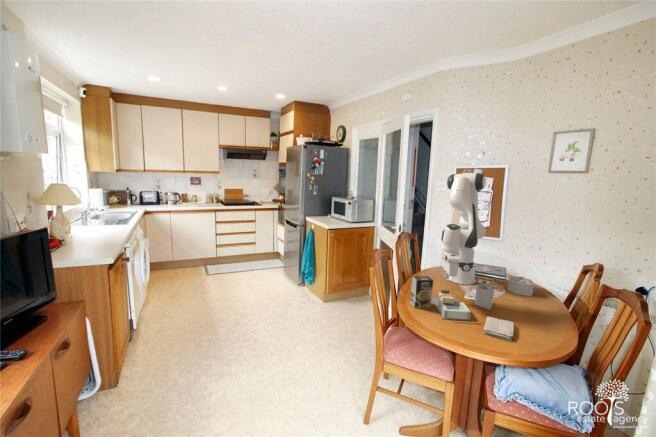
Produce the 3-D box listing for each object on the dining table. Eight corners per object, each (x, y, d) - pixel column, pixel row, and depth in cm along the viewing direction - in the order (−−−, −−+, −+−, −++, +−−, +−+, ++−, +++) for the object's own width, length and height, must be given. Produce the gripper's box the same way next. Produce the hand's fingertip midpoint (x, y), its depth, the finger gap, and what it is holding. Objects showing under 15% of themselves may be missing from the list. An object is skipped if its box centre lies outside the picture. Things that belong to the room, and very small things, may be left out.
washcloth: (482, 335, 141) (483, 329, 141) (485, 319, 156) (486, 313, 156) (512, 343, 135) (513, 337, 135) (513, 326, 150) (513, 320, 150)
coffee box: (414, 309, 163) (417, 280, 160) (409, 304, 169) (412, 275, 166) (430, 309, 164) (433, 280, 161) (425, 303, 170) (428, 275, 168)
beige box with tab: (438, 298, 175) (439, 289, 174) (449, 299, 174) (450, 290, 173) (441, 304, 168) (443, 294, 167) (453, 305, 167) (454, 295, 167)
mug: (490, 311, 164) (492, 291, 163) (472, 306, 169) (475, 287, 167) (493, 303, 174) (496, 284, 172) (477, 299, 179) (479, 281, 177)
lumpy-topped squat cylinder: (532, 297, 185) (534, 283, 184) (507, 292, 191) (509, 278, 190) (531, 291, 194) (533, 278, 193) (507, 286, 200) (509, 273, 199)
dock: (430, 298, 177) (431, 290, 176) (455, 300, 176) (456, 292, 175) (442, 319, 153) (443, 310, 152) (471, 321, 152) (472, 312, 151)
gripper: (438, 248, 180) (435, 270, 183) (449, 259, 160) (445, 284, 163) (449, 248, 179) (446, 271, 182) (461, 260, 159) (458, 285, 162)
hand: (446, 277), depth 172 cm, fingers closed
